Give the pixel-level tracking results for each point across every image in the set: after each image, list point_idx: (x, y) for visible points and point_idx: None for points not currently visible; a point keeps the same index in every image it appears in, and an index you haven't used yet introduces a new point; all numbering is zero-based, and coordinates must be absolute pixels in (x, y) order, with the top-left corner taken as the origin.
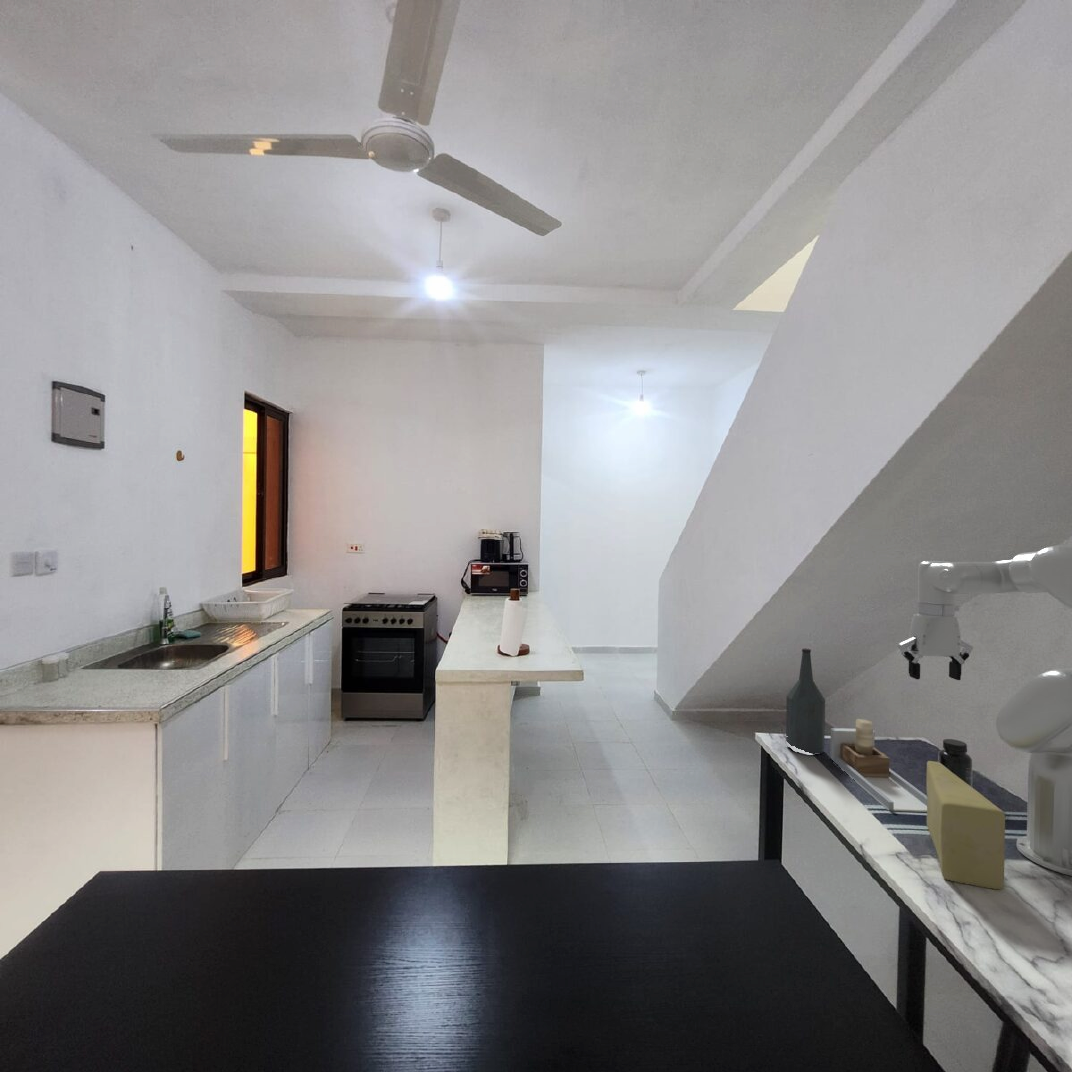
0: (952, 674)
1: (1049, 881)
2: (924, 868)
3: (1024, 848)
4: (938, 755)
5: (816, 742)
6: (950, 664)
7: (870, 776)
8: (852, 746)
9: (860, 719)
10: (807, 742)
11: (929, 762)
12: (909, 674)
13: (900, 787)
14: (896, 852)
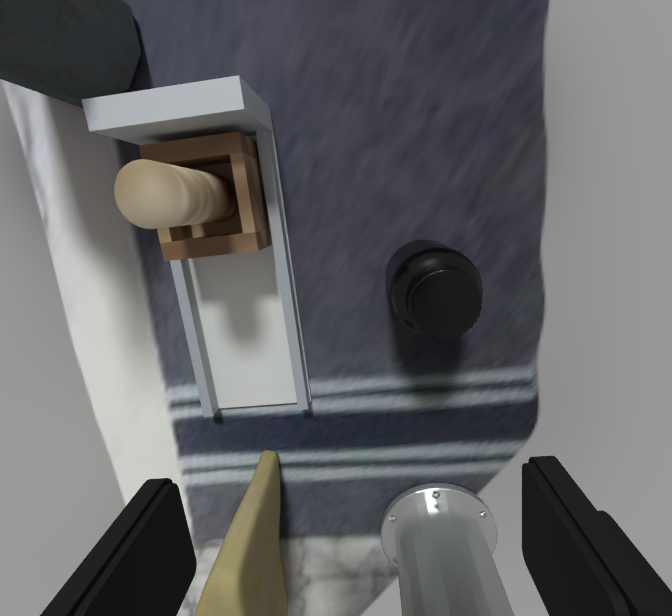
0: (536, 530)
1: (372, 582)
2: (198, 571)
3: (386, 530)
4: (392, 278)
5: (84, 90)
6: (598, 598)
7: None
8: (173, 162)
9: (137, 166)
10: (54, 97)
11: (206, 596)
12: (144, 484)
13: (279, 298)
14: None
